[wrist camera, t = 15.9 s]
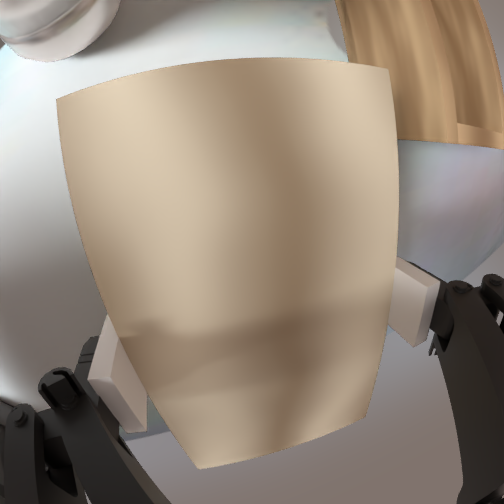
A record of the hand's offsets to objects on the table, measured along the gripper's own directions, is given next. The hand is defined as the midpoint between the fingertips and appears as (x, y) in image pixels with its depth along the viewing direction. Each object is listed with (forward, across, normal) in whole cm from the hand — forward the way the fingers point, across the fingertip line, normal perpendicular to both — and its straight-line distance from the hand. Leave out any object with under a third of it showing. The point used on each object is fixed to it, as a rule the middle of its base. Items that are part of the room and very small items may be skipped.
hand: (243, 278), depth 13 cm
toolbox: (+3, +13, +17) cm, 22 cm away
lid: (-3, 0, 0) cm, 3 cm away
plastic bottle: (+3, -7, +16) cm, 18 cm away
